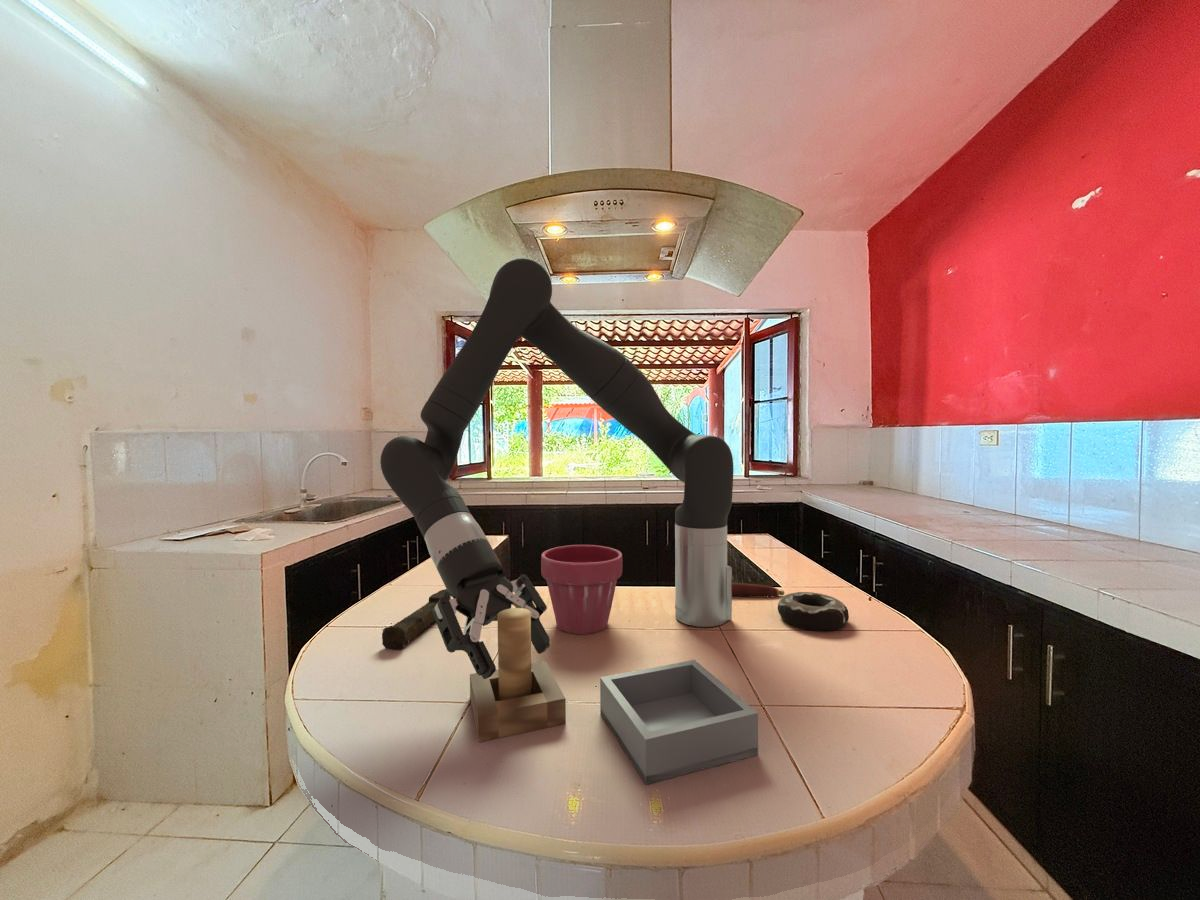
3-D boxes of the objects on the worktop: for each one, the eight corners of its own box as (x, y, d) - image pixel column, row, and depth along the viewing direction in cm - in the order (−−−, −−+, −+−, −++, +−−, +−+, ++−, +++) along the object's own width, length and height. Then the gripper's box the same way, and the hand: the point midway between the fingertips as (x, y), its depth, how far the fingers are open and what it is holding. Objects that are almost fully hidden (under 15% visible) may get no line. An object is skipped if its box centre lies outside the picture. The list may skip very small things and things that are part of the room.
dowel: (528, 698, 64) (527, 606, 64) (535, 715, 61) (533, 617, 60) (496, 704, 63) (495, 610, 62) (501, 721, 59) (500, 621, 59)
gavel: (778, 574, 108) (792, 589, 98) (776, 595, 108) (790, 612, 98) (680, 567, 109) (684, 581, 99) (678, 587, 109) (682, 603, 99)
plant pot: (620, 609, 96) (619, 543, 95) (626, 640, 82) (625, 562, 81) (545, 610, 96) (544, 544, 95) (538, 641, 82) (537, 564, 81)
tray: (694, 693, 65) (694, 659, 65) (757, 754, 53) (758, 712, 53) (600, 713, 61) (600, 677, 61) (645, 784, 48) (645, 739, 48)
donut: (800, 637, 83) (800, 613, 83) (766, 611, 95) (766, 591, 94) (863, 632, 85) (864, 609, 85) (822, 607, 96) (822, 587, 96)
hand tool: (403, 653, 78) (402, 624, 78) (380, 651, 79) (380, 621, 79) (463, 611, 97) (462, 587, 97) (444, 609, 98) (444, 585, 97)
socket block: (545, 683, 68) (545, 661, 68) (565, 723, 59) (565, 698, 59) (470, 696, 65) (469, 674, 65) (478, 742, 55) (478, 715, 55)
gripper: (424, 547, 61) (484, 668, 54) (515, 528, 71) (575, 628, 65) (403, 582, 64) (456, 700, 57) (493, 559, 75) (547, 656, 68)
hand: (519, 661), depth 61 cm, fingers open, 8 cm apart
